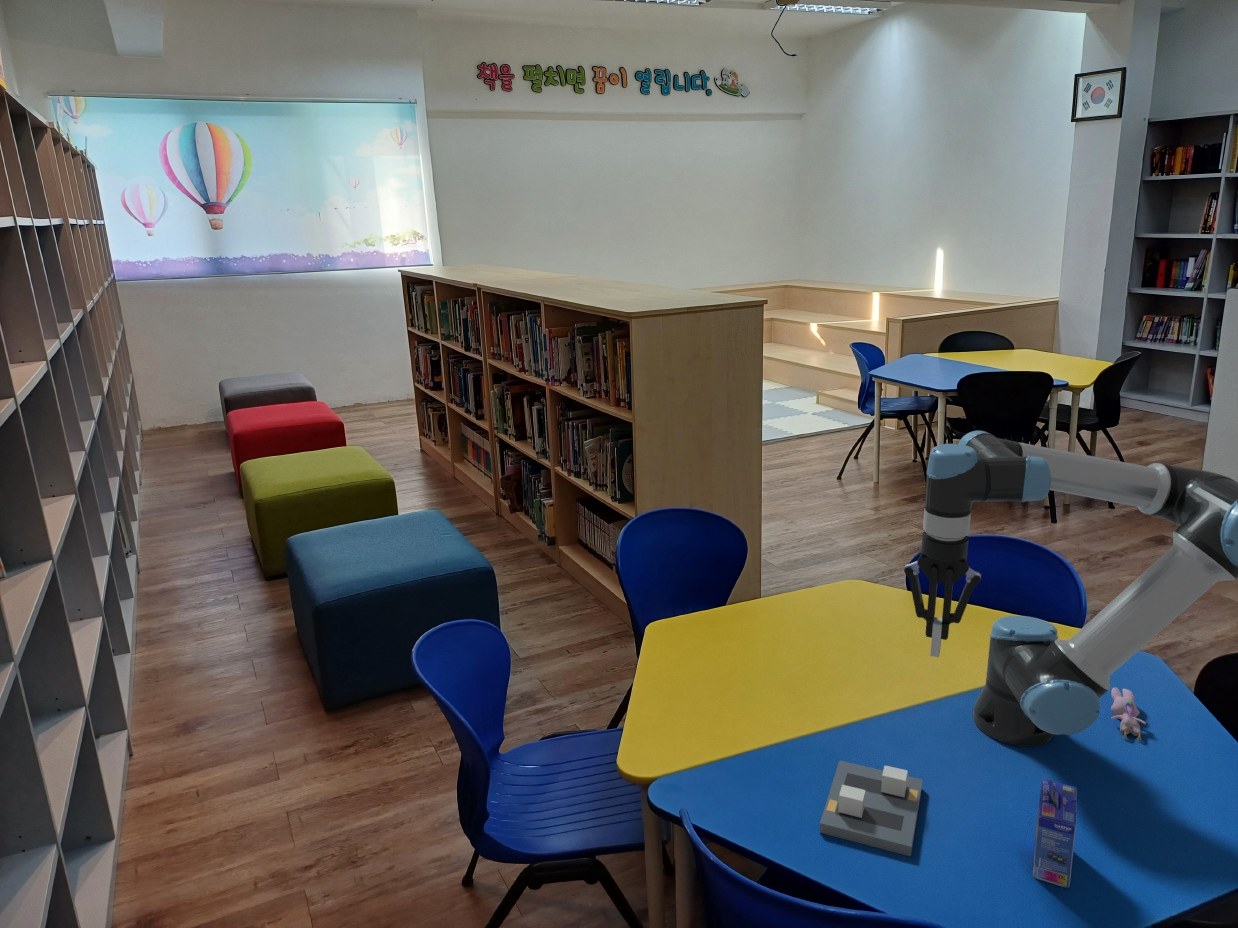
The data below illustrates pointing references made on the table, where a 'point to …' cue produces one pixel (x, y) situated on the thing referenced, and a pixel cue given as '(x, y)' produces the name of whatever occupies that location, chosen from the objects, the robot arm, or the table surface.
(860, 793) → the near tab
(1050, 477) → the robot arm
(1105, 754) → the table surface
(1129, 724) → the rabbit figure
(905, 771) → the far tab
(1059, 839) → the ink cartridge box
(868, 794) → the switch bank
